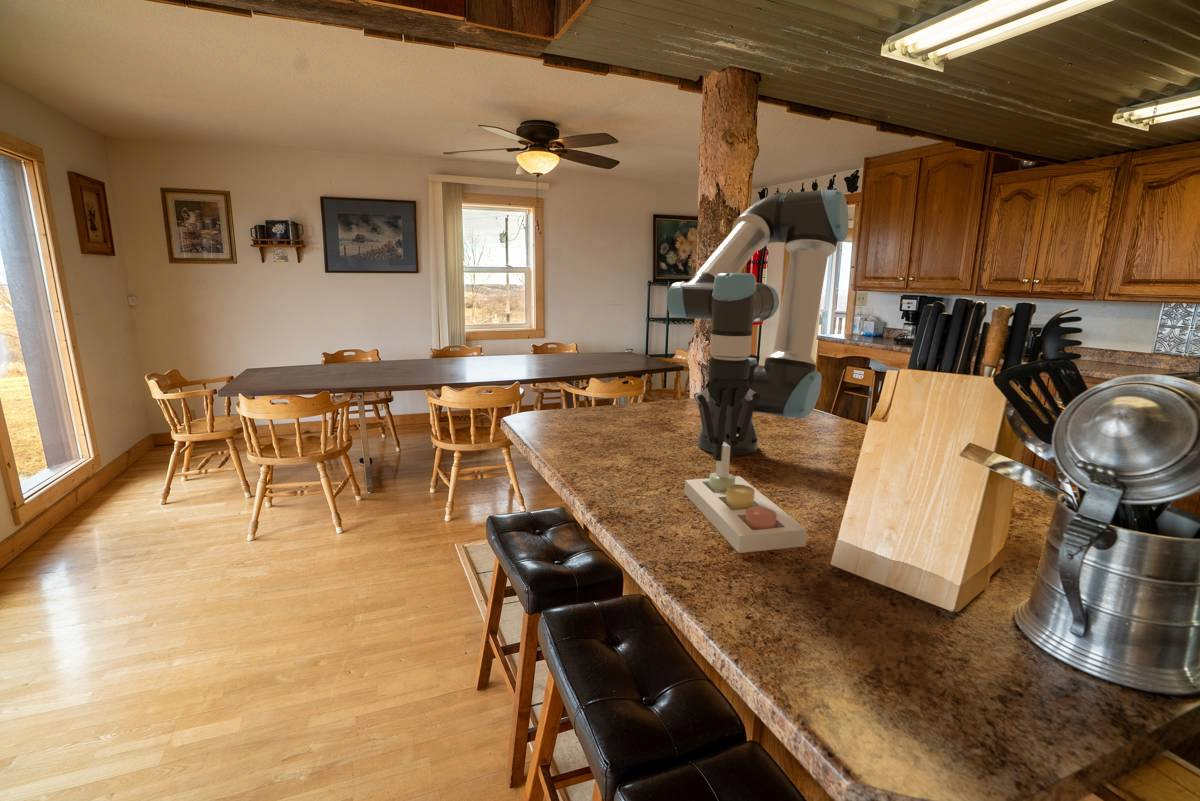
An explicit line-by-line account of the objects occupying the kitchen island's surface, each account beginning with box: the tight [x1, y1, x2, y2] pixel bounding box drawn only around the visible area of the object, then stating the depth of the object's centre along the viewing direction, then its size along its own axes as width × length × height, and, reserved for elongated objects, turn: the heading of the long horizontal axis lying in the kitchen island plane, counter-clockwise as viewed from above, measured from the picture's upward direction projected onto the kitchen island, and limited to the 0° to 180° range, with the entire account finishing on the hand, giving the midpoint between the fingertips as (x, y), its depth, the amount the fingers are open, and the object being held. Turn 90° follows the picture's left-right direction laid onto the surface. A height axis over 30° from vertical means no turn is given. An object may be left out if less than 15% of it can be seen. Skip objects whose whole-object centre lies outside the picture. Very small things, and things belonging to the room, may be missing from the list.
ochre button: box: [726, 484, 755, 510], centre depth 102 cm, size 5×5×3 cm
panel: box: [683, 475, 808, 554], centre depth 103 cm, size 12×25×3 cm, turn 12°
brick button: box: [745, 507, 777, 530], centre depth 95 cm, size 5×5×3 cm
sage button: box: [708, 471, 735, 493], centre depth 110 cm, size 5×5×3 cm
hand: (721, 475), depth 109 cm, fingers closed
